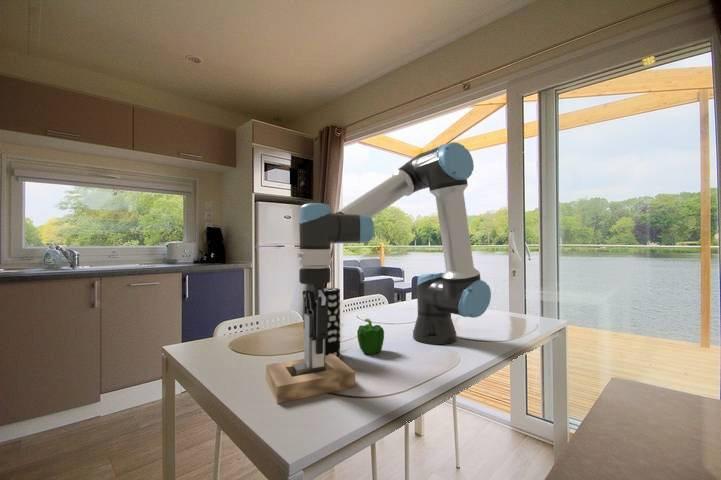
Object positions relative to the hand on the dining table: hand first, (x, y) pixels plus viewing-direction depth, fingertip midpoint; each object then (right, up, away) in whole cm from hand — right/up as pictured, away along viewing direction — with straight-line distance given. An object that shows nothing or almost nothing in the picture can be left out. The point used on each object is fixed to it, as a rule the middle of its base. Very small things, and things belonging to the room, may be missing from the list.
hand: (315, 363), depth 79 cm
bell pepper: (+14, -5, +22) cm, 27 cm away
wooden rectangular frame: (-1, -4, -1) cm, 5 cm away
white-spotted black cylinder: (+1, -5, +18) cm, 19 cm away
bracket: (-1, -2, -1) cm, 3 cm away
